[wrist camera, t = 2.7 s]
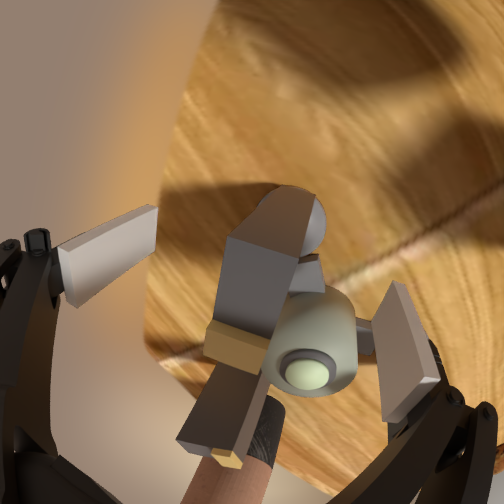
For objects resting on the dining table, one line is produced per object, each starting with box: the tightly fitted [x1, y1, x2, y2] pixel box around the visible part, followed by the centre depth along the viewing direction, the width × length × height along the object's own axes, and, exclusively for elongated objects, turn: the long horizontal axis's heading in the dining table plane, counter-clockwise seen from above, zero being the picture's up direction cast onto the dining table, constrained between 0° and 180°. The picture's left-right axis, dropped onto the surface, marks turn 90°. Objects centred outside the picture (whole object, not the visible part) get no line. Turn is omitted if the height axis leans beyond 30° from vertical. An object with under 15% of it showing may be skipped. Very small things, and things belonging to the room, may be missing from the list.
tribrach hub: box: [261, 254, 375, 397], centre depth 19 cm, size 12×11×7 cm
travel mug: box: [180, 395, 285, 504], centre depth 21 cm, size 8×8×20 cm
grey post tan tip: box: [176, 361, 270, 469], centre depth 21 cm, size 5×5×12 cm
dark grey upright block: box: [203, 185, 326, 375], centre depth 14 cm, size 5×5×12 cm
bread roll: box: [493, 444, 504, 475], centre depth 23 cm, size 10×10×8 cm
